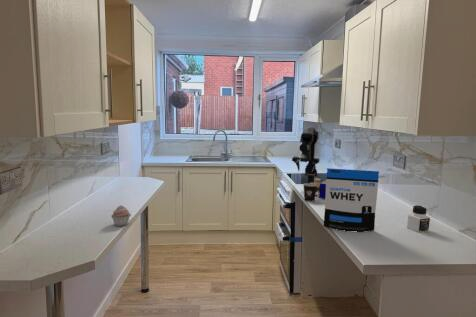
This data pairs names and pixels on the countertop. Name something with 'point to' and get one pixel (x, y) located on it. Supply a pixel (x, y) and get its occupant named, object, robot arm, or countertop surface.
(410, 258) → the countertop surface
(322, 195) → the puzzle cube
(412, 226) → the medicine bottle
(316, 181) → the maple block
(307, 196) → the coffee mug
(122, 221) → the cupcake
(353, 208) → the protein powder
